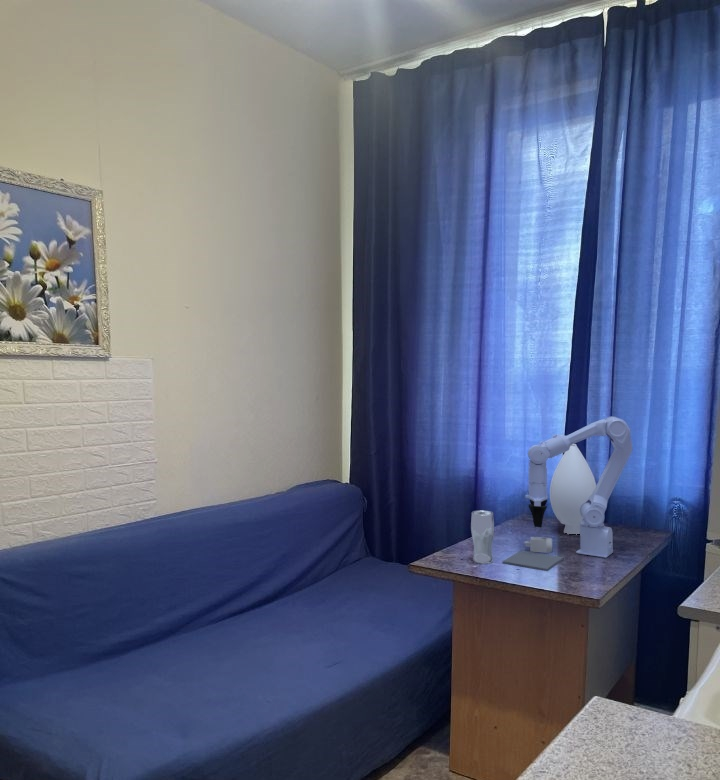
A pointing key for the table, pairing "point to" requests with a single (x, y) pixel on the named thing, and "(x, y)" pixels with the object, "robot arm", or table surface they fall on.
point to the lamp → (571, 489)
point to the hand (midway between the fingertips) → (538, 524)
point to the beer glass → (482, 536)
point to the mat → (533, 560)
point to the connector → (539, 544)
